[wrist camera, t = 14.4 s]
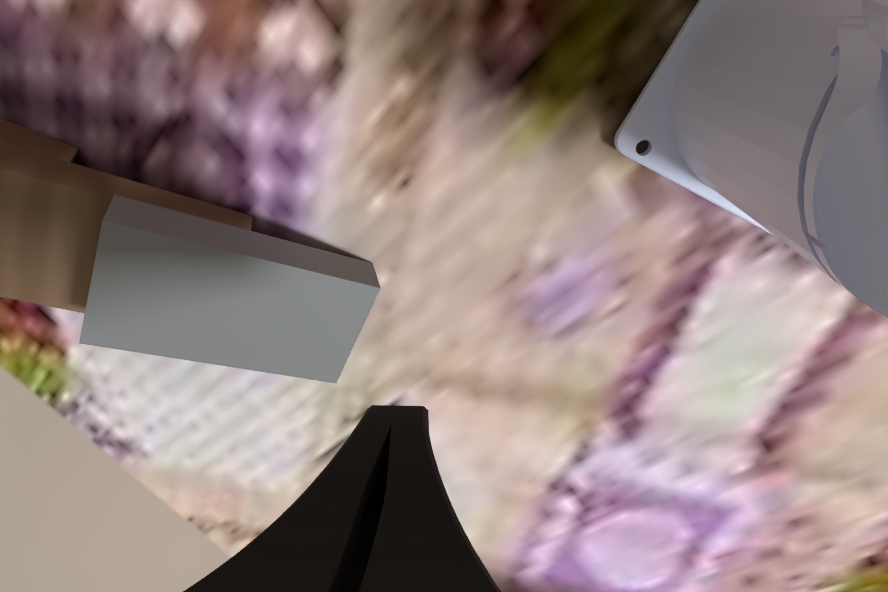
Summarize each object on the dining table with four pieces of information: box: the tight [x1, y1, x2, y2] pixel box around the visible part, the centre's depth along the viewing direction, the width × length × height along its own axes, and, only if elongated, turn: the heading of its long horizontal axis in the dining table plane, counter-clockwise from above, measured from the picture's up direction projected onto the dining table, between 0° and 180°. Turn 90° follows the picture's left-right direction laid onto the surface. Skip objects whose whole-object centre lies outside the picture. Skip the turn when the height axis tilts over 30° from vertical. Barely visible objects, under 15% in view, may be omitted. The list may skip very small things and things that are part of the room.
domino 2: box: [79, 195, 380, 383], centre depth 20 cm, size 2×5×9 cm
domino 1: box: [0, 142, 253, 313], centre depth 20 cm, size 2×5×9 cm
